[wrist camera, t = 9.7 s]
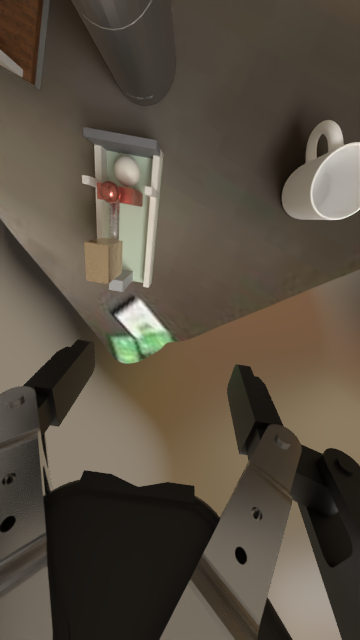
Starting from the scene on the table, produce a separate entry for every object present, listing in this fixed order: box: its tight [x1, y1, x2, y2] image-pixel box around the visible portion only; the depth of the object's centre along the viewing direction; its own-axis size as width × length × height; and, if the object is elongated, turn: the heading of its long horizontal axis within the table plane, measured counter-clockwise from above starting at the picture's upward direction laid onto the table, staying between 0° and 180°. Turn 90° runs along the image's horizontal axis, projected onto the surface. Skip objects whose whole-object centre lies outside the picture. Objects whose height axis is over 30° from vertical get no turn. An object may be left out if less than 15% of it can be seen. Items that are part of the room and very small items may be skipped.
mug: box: [282, 120, 360, 220], centre depth 30 cm, size 12×8×10 cm
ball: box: [114, 156, 140, 187], centre depth 33 cm, size 4×4×4 cm
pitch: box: [82, 127, 163, 292], centre depth 35 cm, size 22×10×8 cm, turn 171°
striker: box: [84, 181, 143, 284], centre depth 31 cm, size 12×5×14 cm, turn 171°
